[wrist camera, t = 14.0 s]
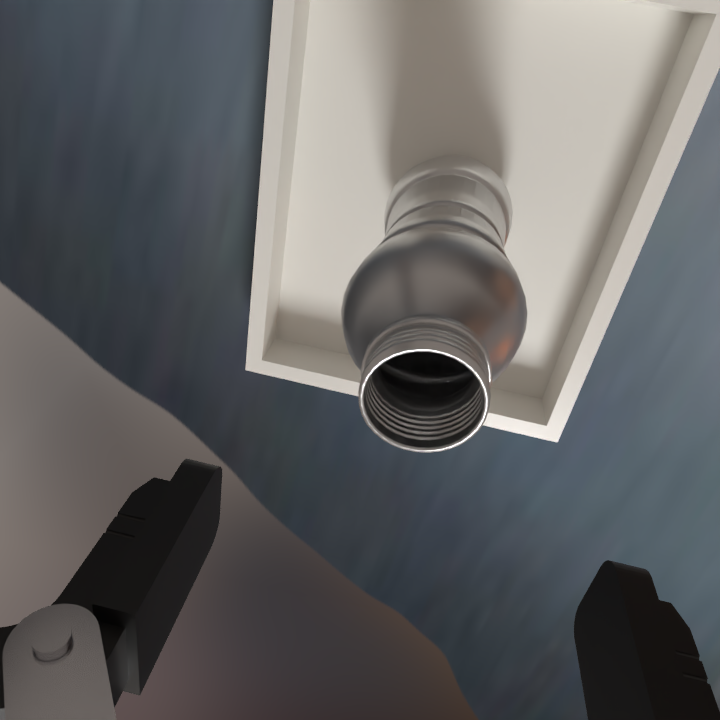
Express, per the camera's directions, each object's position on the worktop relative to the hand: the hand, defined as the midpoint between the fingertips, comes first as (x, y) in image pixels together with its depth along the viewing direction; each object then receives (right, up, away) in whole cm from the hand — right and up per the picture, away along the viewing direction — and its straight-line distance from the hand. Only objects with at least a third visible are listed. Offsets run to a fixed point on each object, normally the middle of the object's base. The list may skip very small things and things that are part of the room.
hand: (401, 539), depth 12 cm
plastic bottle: (+4, +13, +21) cm, 25 cm away
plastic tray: (+4, +13, +22) cm, 26 cm away
